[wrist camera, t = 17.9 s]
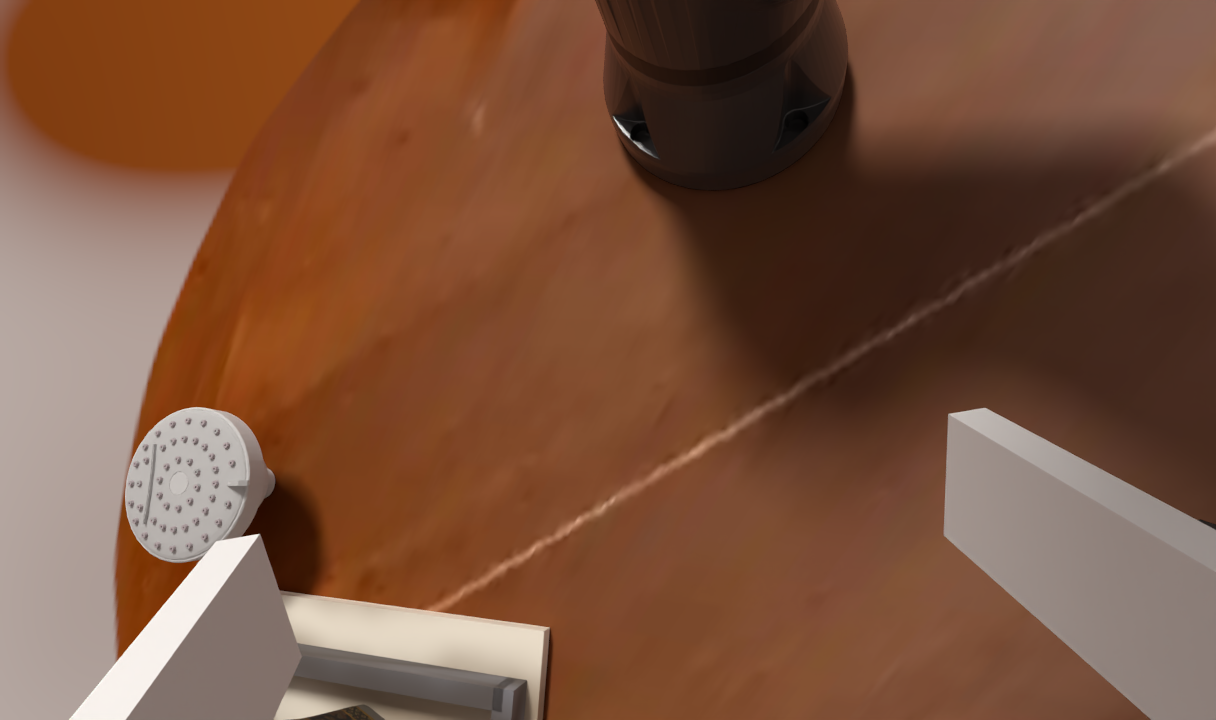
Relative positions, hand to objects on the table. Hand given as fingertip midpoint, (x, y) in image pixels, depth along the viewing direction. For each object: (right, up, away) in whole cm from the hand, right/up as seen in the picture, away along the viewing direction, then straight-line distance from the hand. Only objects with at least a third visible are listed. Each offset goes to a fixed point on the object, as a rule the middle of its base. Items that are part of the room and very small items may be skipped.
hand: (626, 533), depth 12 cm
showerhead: (-25, -5, +33) cm, 42 cm away
